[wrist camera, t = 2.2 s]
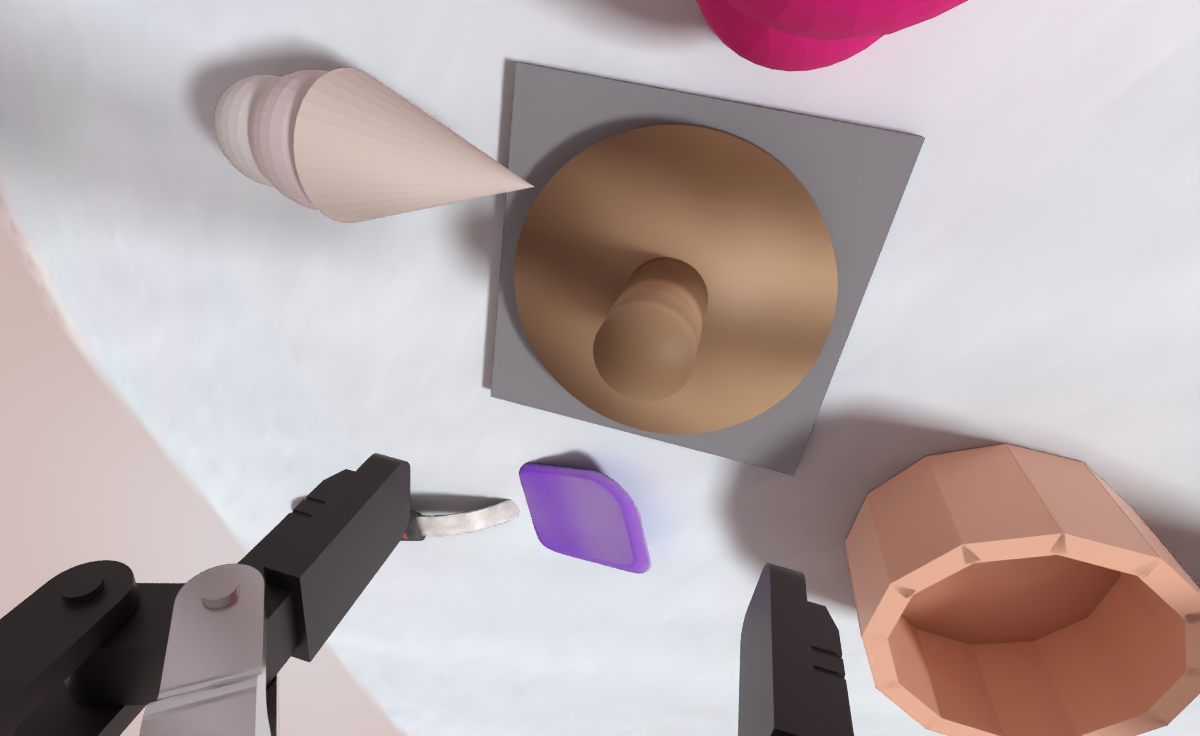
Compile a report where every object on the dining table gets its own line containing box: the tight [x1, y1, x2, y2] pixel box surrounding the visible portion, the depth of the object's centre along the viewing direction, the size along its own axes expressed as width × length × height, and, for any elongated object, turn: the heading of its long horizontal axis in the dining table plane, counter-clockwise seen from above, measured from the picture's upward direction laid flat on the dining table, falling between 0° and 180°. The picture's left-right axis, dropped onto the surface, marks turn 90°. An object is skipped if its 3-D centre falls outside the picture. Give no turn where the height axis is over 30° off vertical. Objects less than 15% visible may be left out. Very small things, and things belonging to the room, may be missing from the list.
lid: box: [514, 123, 838, 435], centre depth 24 cm, size 14×14×7 cm
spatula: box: [400, 463, 651, 574], centre depth 37 cm, size 24×7×2 cm, turn 102°
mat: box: [491, 62, 925, 475], centre depth 28 cm, size 16×16×1 cm
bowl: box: [845, 443, 1200, 736], centre depth 28 cm, size 12×12×6 cm
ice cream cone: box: [214, 68, 534, 223], centre depth 25 cm, size 6×6×15 cm
